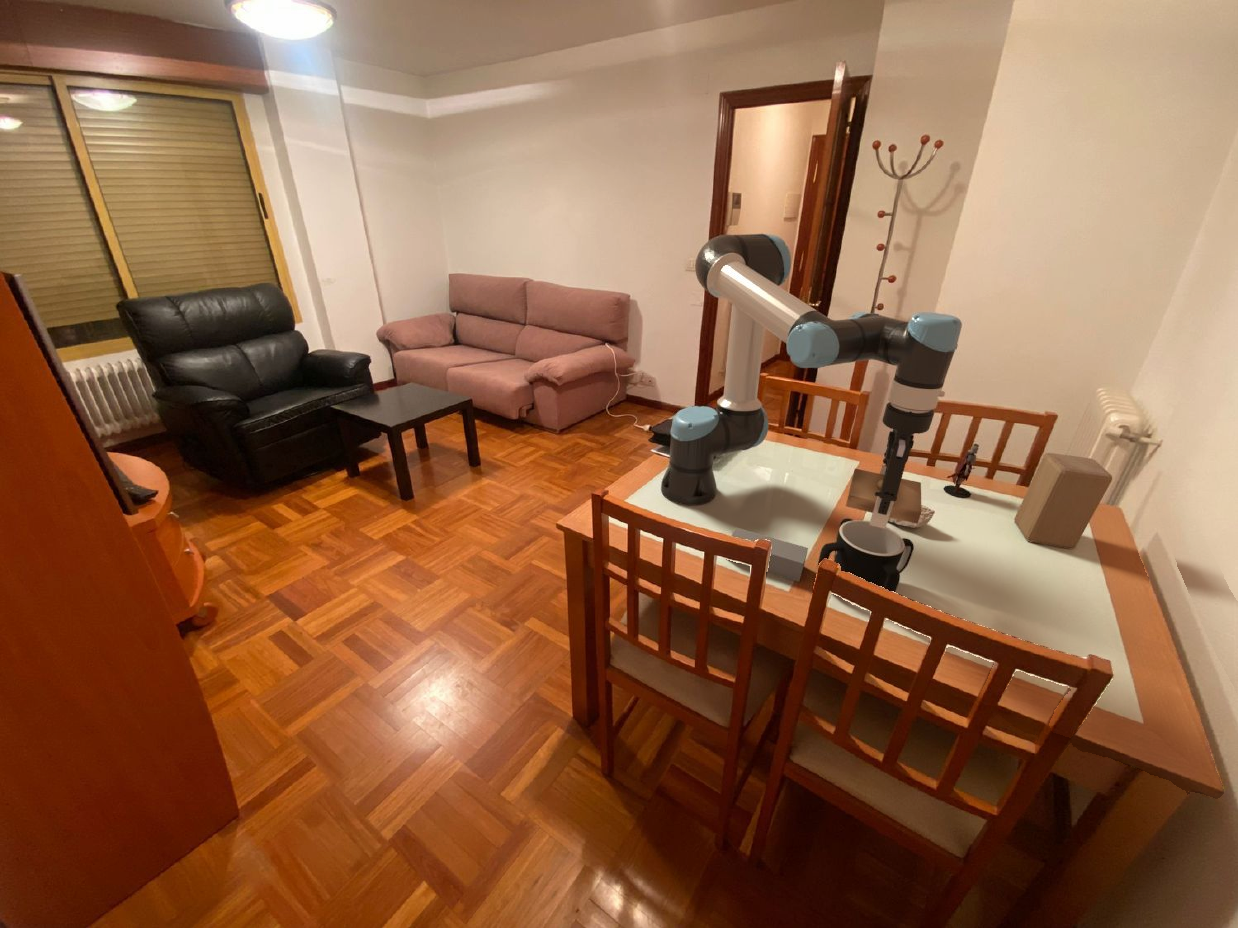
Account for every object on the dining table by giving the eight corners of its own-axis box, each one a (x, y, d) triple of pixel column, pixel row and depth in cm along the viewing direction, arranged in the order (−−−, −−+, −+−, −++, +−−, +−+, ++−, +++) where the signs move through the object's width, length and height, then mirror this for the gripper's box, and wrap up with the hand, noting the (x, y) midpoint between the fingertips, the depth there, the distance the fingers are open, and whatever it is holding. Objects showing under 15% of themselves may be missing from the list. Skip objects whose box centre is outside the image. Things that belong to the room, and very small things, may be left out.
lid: (845, 506, 94) (850, 490, 92) (852, 479, 103) (856, 464, 102) (917, 523, 89) (923, 507, 87) (917, 493, 99) (922, 478, 97)
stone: (897, 542, 125) (928, 522, 117) (862, 503, 130) (890, 481, 122) (912, 533, 129) (943, 512, 122) (877, 495, 134) (905, 473, 127)
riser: (725, 559, 112) (728, 541, 110) (733, 544, 117) (736, 527, 115) (799, 582, 106) (803, 563, 103) (803, 566, 110) (808, 548, 108)
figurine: (971, 500, 136) (991, 451, 129) (940, 493, 139) (958, 445, 132) (970, 489, 141) (989, 442, 134) (940, 483, 144) (958, 436, 137)
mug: (837, 549, 116) (849, 505, 111) (910, 582, 106) (928, 537, 101) (803, 581, 106) (815, 535, 100) (881, 622, 96) (898, 573, 90)
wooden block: (1058, 528, 125) (1094, 457, 116) (1075, 551, 117) (1116, 477, 107) (1011, 520, 128) (1043, 450, 119) (1025, 542, 120) (1061, 469, 110)
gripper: (938, 434, 76) (899, 548, 86) (933, 389, 95) (902, 486, 105) (884, 425, 79) (852, 536, 89) (889, 383, 98) (863, 478, 108)
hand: (879, 509), depth 97 cm, fingers closed on lid, 12 cm apart
